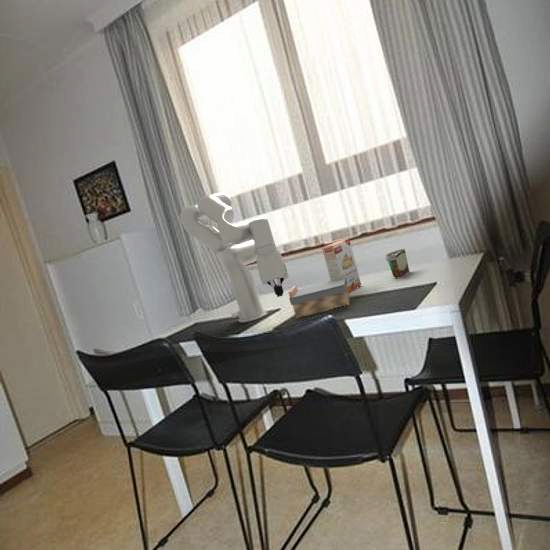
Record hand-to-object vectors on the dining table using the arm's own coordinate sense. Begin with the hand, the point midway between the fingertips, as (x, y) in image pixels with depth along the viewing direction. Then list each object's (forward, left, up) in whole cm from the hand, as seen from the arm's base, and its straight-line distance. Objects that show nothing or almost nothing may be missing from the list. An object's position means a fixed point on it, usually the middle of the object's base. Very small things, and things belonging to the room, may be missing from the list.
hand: (280, 295), depth 179 cm
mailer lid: (+15, 0, -3) cm, 15 cm away
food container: (+45, +25, -9) cm, 52 cm away
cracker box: (+24, +19, -9) cm, 32 cm away
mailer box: (+15, 0, -9) cm, 17 cm away
